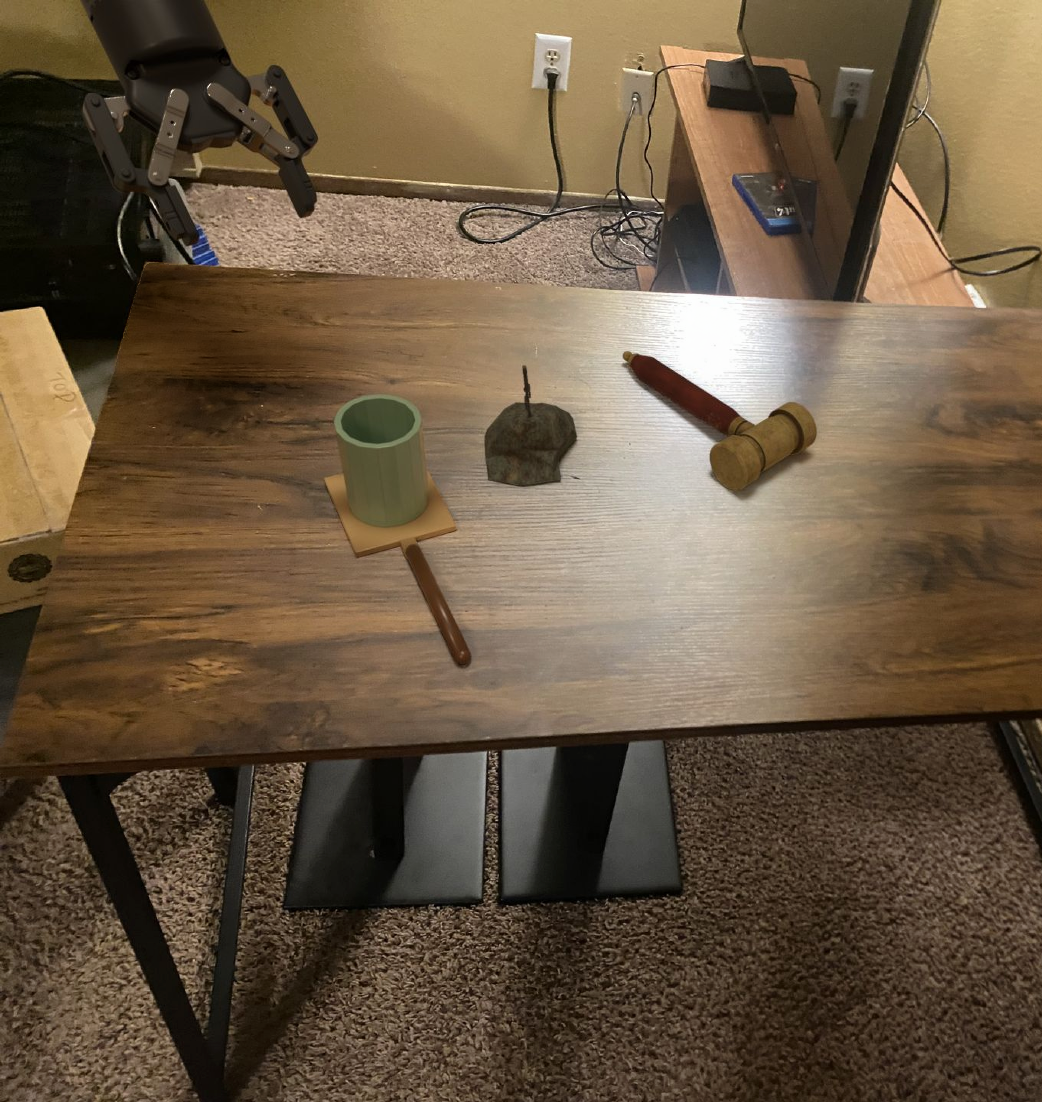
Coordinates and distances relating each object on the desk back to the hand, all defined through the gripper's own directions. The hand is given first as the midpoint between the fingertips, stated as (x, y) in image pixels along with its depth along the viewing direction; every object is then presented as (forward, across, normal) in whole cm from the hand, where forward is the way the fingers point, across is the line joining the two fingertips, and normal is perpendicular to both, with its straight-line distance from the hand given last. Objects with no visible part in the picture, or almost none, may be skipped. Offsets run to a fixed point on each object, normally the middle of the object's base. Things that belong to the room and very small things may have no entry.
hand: (252, 228), depth 73 cm
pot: (+22, -2, -3) cm, 22 cm away
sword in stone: (+23, -15, -3) cm, 28 cm away
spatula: (+27, 0, +1) cm, 27 cm away
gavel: (+26, -31, 0) cm, 40 cm away
